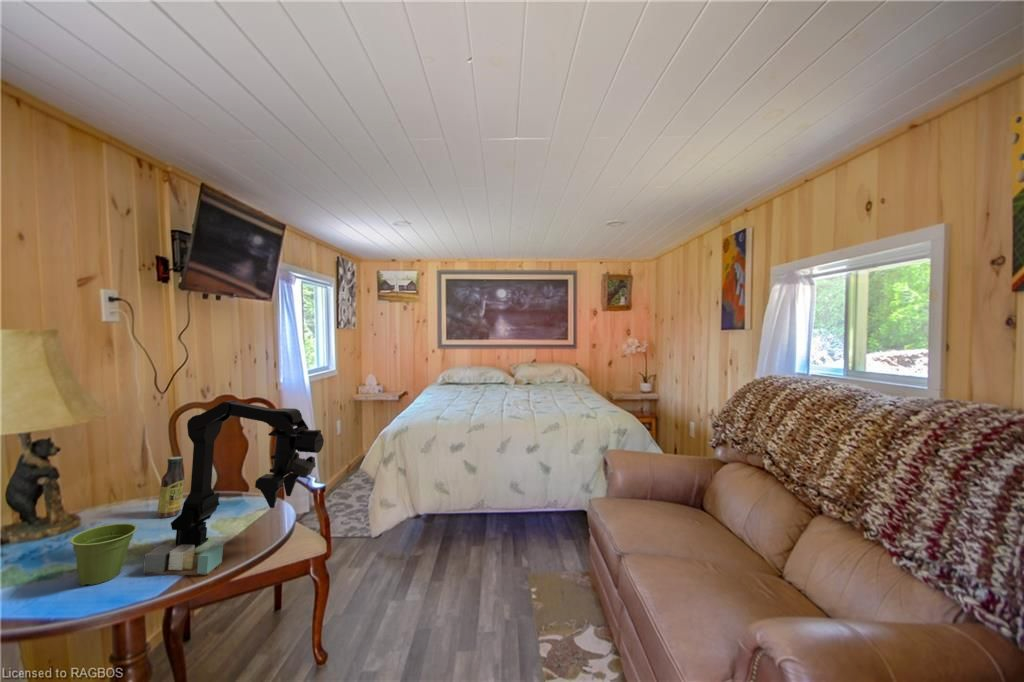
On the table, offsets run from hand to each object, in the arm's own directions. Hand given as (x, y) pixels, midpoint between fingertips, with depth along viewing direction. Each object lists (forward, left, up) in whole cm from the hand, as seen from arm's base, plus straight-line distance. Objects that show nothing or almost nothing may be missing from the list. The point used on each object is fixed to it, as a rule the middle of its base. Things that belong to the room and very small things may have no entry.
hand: (280, 501), depth 115 cm
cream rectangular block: (-20, -12, -13) cm, 27 cm away
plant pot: (-35, -16, -14) cm, 41 cm away
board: (-18, -12, -14) cm, 25 cm away
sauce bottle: (-48, +21, -14) cm, 55 cm away
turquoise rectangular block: (-11, -12, -13) cm, 21 cm away
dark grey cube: (-24, -12, -13) cm, 30 cm away
